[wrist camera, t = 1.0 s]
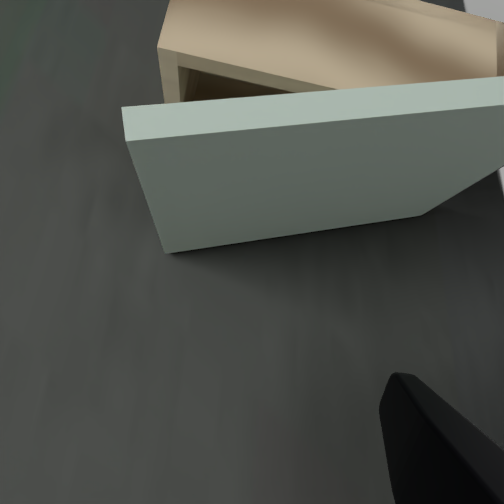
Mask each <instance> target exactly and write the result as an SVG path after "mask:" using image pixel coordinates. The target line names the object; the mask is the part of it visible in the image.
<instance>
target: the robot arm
mask: <svg viewBox="0 0 504 504" xmlns="http://www.w3.org/2000/svg"><path fill="white" fill-rule="evenodd" d="M379 414H380V421H381V427H382V433H383V439H384V445H385V451H386V457H387V464H388V470H389V476H390V481H391V487H392V492H393V496H394V500H395V504H504V450H503V449H502V448H500V447H499V446H498V445H497V444H496V443H495V442H493V441H492V440H491V439H490V438H489V437H487V436H486V435H485V434H484V433H483V432H481V431H480V430H479V429H478V428H477V427H476V426H474V425H473V424H472V423H471V422H470V421H468V420H467V419H466V418H465V417H464V416H462V415H461V414H460V413H459V412H458V411H456V410H455V409H454V408H453V407H452V406H451V405H449V404H448V403H447V402H446V401H445V400H443V399H442V398H441V397H440V396H439V395H437V394H436V393H435V392H434V391H433V390H432V389H430V388H429V387H428V386H427V385H426V384H424V383H423V382H422V381H421V380H420V379H418V378H417V377H416V376H414V375H412V374H406V373H399V372H395V373H393V374H392V375H391V376H390V378H389V380H388V383H387V385H386V388H385V391H384V393H383V396H382V398H381V401H380V406H379Z"/></svg>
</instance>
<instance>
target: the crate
mask: <svg viewBox="0 0 504 504" xmlns="http://www.w3.org/2000/svg"><path fill="white" fill-rule="evenodd" d="M157 50H158V57H159V65H160V72H161V79H162V87H163V94H164V101H165V104H168V103H180V102H192V101H205V100H217V99H229V98H242V97H254V96H266V95H279V94H291V93H303V92H315V91H328V90H340V89H352V88H365V87H377V86H389V85H402V84H414V83H426V82H438V81H451V80H463V79H475V78H488V77H500V76H504V23H503V22H499V21H495V20H491V19H487V18H484V17H480V16H476V15H472V14H468V13H465V12H461V11H457V10H453V9H449V8H445V7H442V6H438V5H434V4H430V3H426V2H422V1H419V0H170V2H169V6H168V9H167V13H166V17H165V20H164V24H163V27H162V31H161V35H160V38H159V42H158V46H157Z"/></svg>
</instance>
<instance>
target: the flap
mask: <svg viewBox="0 0 504 504" xmlns="http://www.w3.org/2000/svg"><path fill="white" fill-rule="evenodd" d="M121 108H122V115H123V123H124V131H125V139H126V143H127V146H128V149H129V152H130V155H131V158H132V160H133V163H134V166H135V169H136V172H137V175H138V178H139V181H140V183H141V186H142V189H143V192H144V195H145V198H146V201H147V204H148V207H149V209H150V212H151V215H152V218H153V221H154V224H155V227H156V230H157V232H158V235H159V238H160V241H161V244H162V247H163V250H164V253H165V254H168V253H174V252H181V251H188V250H194V249H201V248H208V247H214V246H221V245H228V244H234V243H241V242H248V241H254V240H261V239H268V238H274V237H281V236H288V235H294V234H301V233H308V232H314V231H321V230H328V229H335V228H341V227H348V226H355V225H361V224H368V223H375V222H381V221H388V220H395V219H401V218H408V217H415V216H421V215H423V214H425V213H427V212H428V211H430V210H432V209H433V208H435V207H437V206H438V205H440V204H442V203H443V202H445V201H447V200H448V199H450V198H452V197H453V196H455V195H457V194H458V193H460V192H462V191H463V190H465V189H467V188H468V187H470V186H472V185H473V184H475V183H477V182H478V181H480V180H482V179H483V178H485V177H487V176H488V175H490V174H492V173H493V172H495V171H497V170H498V169H500V168H501V167H503V166H504V76H500V77H488V78H475V79H463V80H451V81H438V82H426V83H414V84H402V85H389V86H377V87H365V88H352V89H340V90H328V91H315V92H303V93H291V94H279V95H266V96H254V97H242V98H229V99H217V100H205V101H192V102H180V103H168V104H155V105H143V106H131V107H121Z"/></svg>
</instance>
